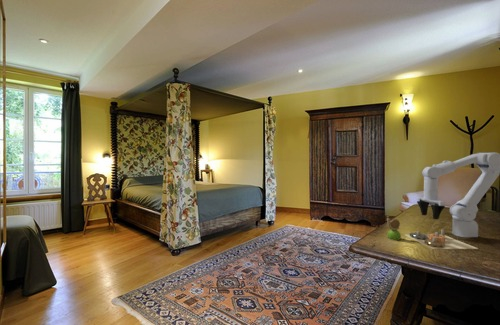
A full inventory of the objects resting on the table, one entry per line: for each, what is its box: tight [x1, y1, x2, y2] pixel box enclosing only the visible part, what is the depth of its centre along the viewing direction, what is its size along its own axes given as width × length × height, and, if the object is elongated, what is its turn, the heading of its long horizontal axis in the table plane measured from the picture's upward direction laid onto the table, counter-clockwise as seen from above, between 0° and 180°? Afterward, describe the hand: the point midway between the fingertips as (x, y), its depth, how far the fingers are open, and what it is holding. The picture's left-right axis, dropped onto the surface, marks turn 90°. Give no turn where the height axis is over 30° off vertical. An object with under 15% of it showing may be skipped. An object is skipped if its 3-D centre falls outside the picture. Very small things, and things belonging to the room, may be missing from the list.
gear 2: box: [424, 239, 445, 248], centre depth 105 cm, size 7×7×2 cm
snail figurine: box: [386, 215, 402, 241], centre depth 113 cm, size 5×6×12 cm
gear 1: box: [409, 232, 428, 240], centre depth 114 cm, size 7×7×1 cm
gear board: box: [404, 228, 479, 250], centre depth 110 cm, size 20×18×5 cm
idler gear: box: [428, 233, 445, 243], centre depth 110 cm, size 6×6×2 cm
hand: (429, 217), depth 121 cm, fingers open, 7 cm apart
